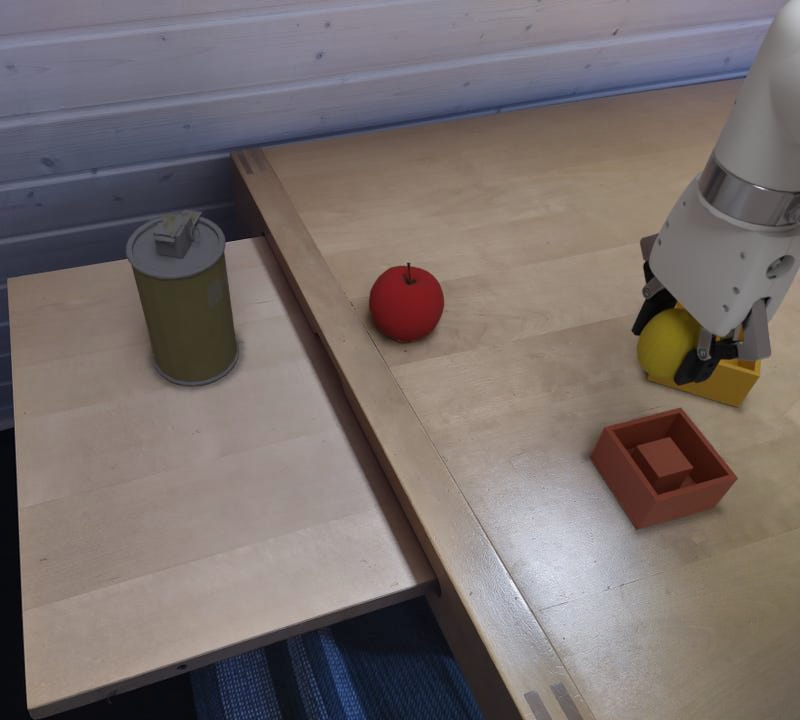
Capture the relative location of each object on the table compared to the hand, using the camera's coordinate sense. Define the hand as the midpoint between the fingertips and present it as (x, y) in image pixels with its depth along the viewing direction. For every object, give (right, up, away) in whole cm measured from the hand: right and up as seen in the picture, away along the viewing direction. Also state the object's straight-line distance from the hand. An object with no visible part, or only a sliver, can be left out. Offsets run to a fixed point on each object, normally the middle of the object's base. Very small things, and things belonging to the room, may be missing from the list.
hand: (668, 353), depth 64 cm
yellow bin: (+14, -1, +22) cm, 27 cm away
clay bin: (+4, -14, +11) cm, 18 cm away
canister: (-47, 0, +24) cm, 52 cm away
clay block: (+4, -13, +11) cm, 17 cm away
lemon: (0, -2, +2) cm, 3 cm away
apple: (-21, +3, +27) cm, 34 cm away
